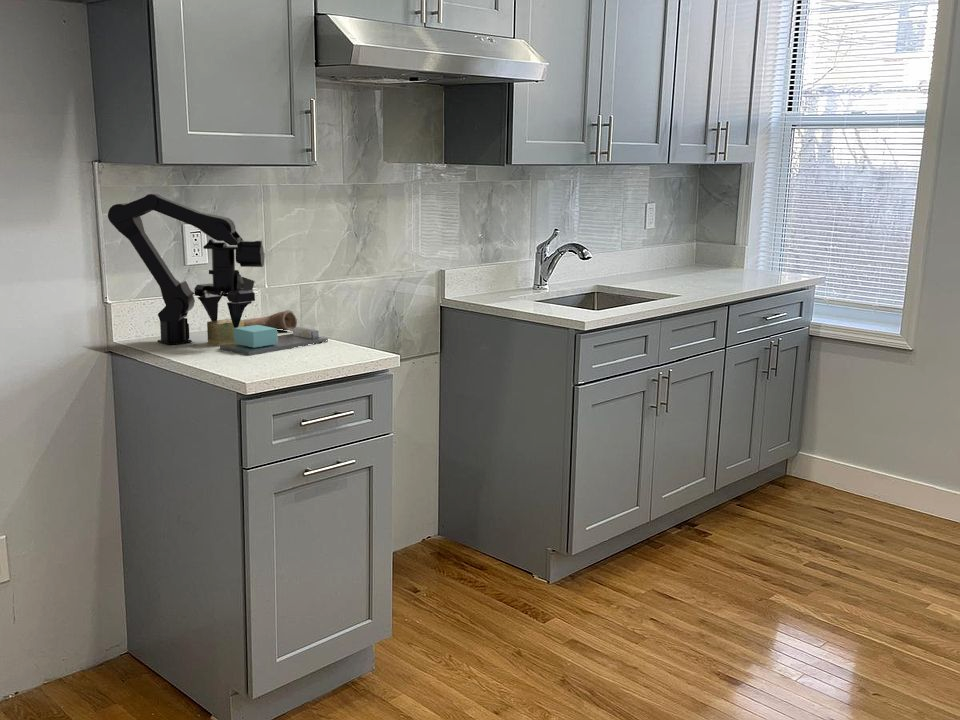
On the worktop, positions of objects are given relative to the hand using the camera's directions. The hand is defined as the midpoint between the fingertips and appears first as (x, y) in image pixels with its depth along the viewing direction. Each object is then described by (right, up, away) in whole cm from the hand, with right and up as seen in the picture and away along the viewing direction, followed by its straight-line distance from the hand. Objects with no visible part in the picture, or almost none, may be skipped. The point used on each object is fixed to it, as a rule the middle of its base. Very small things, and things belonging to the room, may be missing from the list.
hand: (225, 325), depth 249 cm
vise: (+13, -5, -1) cm, 14 cm away
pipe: (+6, -1, +20) cm, 21 cm away
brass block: (0, -5, +1) cm, 5 cm away
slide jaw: (+10, -5, -6) cm, 12 cm away
